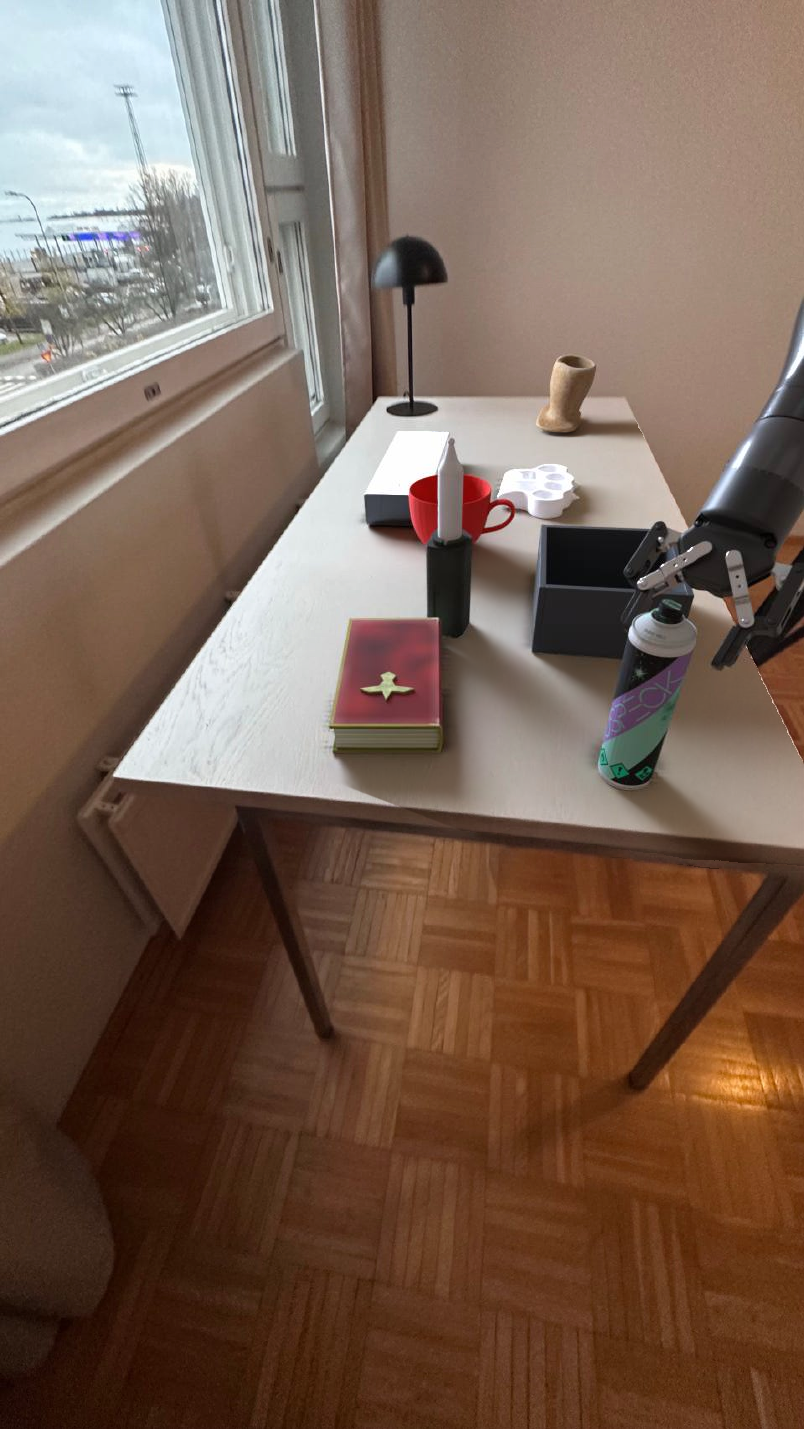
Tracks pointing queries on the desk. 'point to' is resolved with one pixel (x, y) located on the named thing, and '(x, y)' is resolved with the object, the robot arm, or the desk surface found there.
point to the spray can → (646, 695)
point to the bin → (589, 589)
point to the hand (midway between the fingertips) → (669, 649)
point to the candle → (449, 553)
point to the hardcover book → (390, 687)
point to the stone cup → (567, 393)
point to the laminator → (403, 475)
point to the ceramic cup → (473, 507)
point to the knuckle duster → (539, 490)
